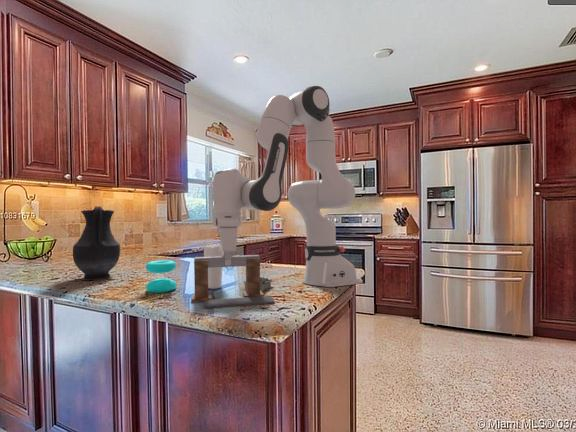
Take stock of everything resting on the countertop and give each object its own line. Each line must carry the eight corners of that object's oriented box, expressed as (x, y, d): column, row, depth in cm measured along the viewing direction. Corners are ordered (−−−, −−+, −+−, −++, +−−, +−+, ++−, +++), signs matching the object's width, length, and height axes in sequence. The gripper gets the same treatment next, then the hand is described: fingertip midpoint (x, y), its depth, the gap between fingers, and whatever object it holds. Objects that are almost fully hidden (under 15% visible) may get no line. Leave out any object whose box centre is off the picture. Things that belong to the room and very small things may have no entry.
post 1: (211, 296, 107) (211, 257, 107) (211, 301, 101) (211, 260, 101) (192, 297, 106) (191, 258, 106) (191, 302, 100) (190, 261, 100)
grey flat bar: (270, 297, 105) (270, 295, 105) (274, 303, 98) (274, 301, 98) (204, 302, 100) (204, 300, 100) (204, 308, 94) (204, 306, 94)
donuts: (140, 264, 112) (153, 259, 122) (140, 293, 112) (153, 287, 122) (169, 263, 112) (180, 259, 122) (170, 293, 112) (180, 286, 122)
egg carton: (260, 293, 112) (260, 281, 112) (241, 291, 115) (241, 279, 115) (274, 286, 122) (273, 275, 122) (255, 285, 125) (255, 274, 124)
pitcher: (118, 272, 153) (117, 207, 152) (123, 280, 135) (122, 206, 135) (73, 276, 144) (72, 207, 144) (72, 285, 126) (70, 205, 126)
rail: (258, 263, 109) (258, 254, 109) (259, 265, 106) (259, 255, 106) (194, 266, 105) (194, 257, 104) (194, 268, 102) (194, 258, 102)
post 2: (260, 293, 111) (260, 255, 111) (263, 297, 105) (263, 258, 105) (242, 294, 110) (242, 256, 109) (244, 298, 104) (244, 259, 104)
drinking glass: (219, 290, 116) (218, 247, 116) (201, 289, 117) (200, 246, 117) (226, 285, 123) (226, 245, 123) (209, 285, 124) (208, 244, 124)
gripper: (216, 219, 115) (216, 260, 115) (217, 221, 95) (218, 269, 95) (234, 219, 116) (235, 259, 116) (240, 220, 96) (240, 268, 96)
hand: (227, 264), depth 105 cm, fingers closed on rail, 3 cm apart
